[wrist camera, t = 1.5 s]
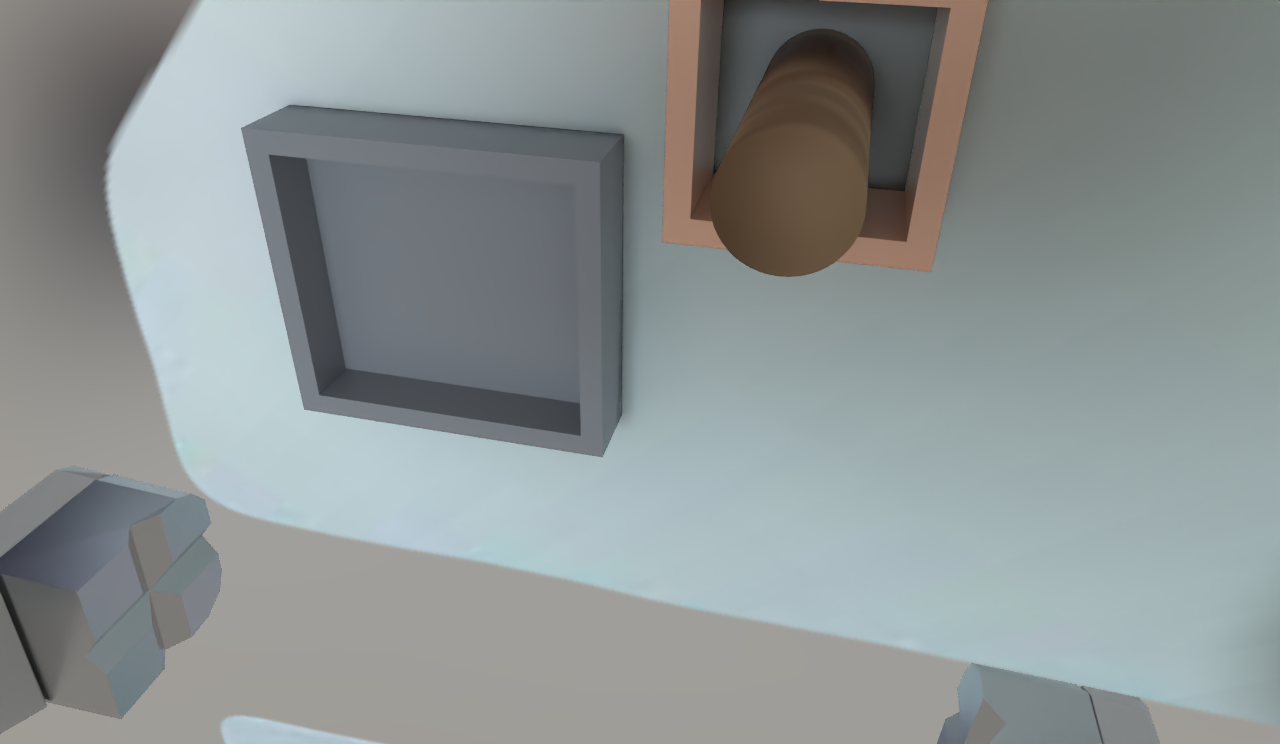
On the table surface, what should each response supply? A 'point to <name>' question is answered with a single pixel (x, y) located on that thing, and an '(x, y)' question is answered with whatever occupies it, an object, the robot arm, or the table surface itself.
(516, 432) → the tray
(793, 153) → the dowel
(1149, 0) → the table surface
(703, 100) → the peach square frame
